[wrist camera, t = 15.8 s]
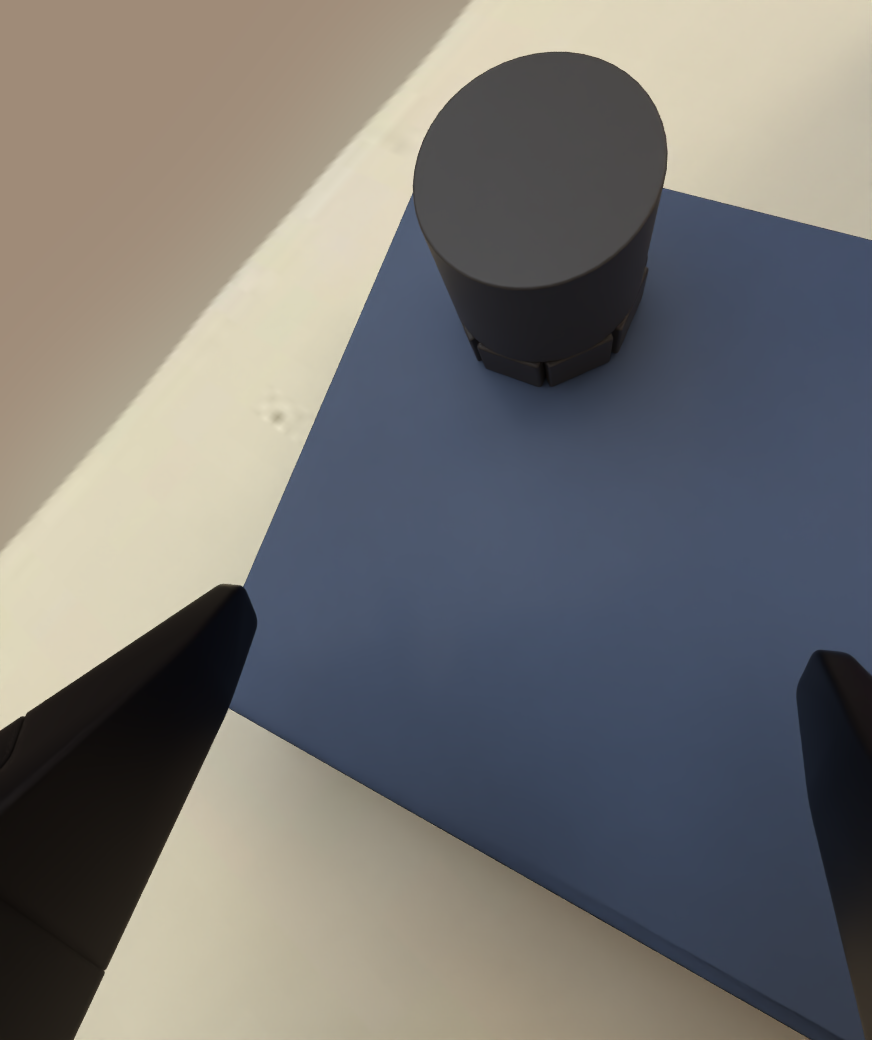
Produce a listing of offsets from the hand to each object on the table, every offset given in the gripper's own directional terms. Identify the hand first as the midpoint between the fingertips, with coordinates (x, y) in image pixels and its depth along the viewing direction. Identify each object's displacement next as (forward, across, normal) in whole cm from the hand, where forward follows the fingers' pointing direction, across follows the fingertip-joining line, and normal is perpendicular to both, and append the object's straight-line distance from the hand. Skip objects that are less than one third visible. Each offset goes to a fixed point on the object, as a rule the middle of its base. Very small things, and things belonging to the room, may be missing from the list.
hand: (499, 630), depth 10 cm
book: (+7, -4, +5) cm, 9 cm away
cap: (+9, 0, -2) cm, 9 cm away
